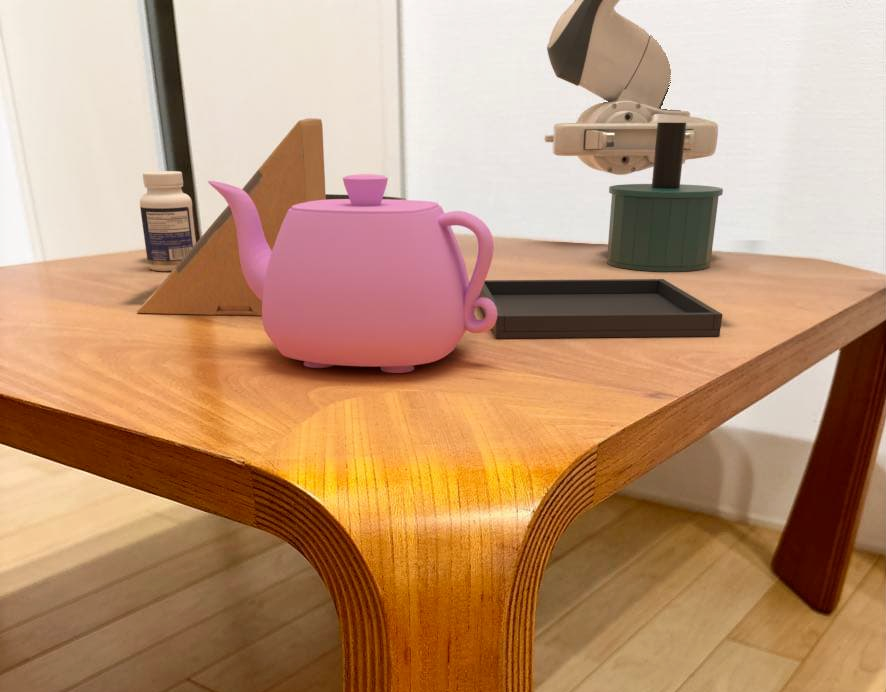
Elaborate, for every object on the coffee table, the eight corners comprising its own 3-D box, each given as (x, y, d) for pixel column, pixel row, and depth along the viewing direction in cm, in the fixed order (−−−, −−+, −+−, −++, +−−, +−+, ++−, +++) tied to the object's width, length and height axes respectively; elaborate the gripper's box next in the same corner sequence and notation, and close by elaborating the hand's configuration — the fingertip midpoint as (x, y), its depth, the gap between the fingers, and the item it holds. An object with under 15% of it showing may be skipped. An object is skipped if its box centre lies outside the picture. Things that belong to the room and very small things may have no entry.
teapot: (513, 342, 67) (518, 171, 62) (475, 390, 56) (479, 184, 51) (262, 328, 72) (248, 166, 67) (178, 370, 60) (154, 178, 55)
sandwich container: (167, 295, 85) (146, 117, 78) (331, 297, 84) (322, 118, 77) (133, 313, 77) (106, 117, 70) (313, 316, 76) (302, 118, 70)
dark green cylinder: (692, 256, 109) (699, 189, 106) (724, 271, 99) (733, 197, 95) (597, 257, 108) (602, 189, 105) (620, 272, 98) (626, 197, 95)
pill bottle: (159, 264, 102) (147, 170, 98) (206, 264, 102) (196, 170, 98) (140, 271, 97) (127, 173, 93) (189, 272, 97) (177, 173, 93)
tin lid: (701, 194, 106) (709, 122, 103) (737, 204, 95) (748, 123, 92) (598, 195, 106) (603, 121, 102) (622, 204, 95) (629, 122, 91)
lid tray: (661, 297, 84) (663, 278, 84) (719, 336, 70) (722, 313, 69) (476, 299, 83) (476, 280, 83) (495, 338, 69) (496, 315, 68)
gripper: (542, 111, 117) (561, 110, 105) (699, 111, 118) (736, 110, 106) (540, 164, 120) (558, 169, 108) (693, 163, 121) (729, 169, 109)
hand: (648, 140), depth 107 cm, fingers open, 8 cm apart
